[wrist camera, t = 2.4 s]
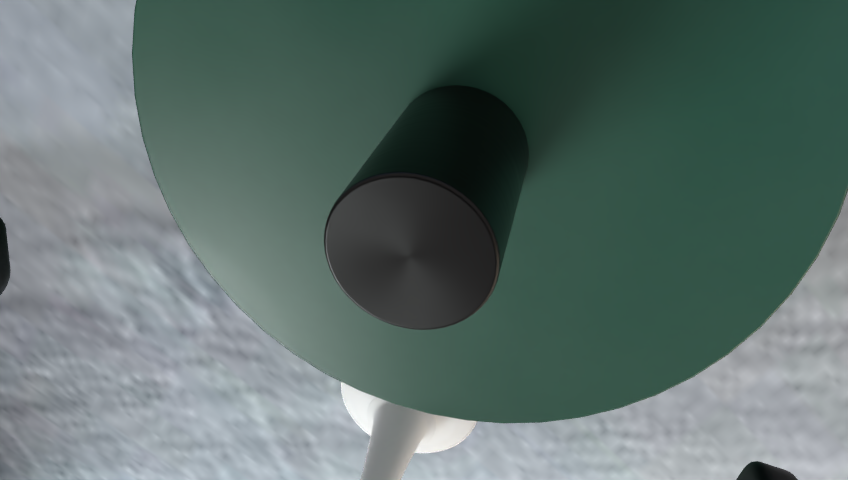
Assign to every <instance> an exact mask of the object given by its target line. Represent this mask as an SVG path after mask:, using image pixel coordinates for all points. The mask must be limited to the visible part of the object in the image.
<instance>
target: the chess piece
mask: <svg viewBox="0 0 848 480" xmlns="http://www.w3.org/2000/svg"><path fill="white" fill-rule="evenodd" d="M341 392H342V397H343V401H344V404H345V406H346V408H347V410H348V412H349V414H350V415H351V417H352V418H353V420H354V421H355V422H356V423H357V424H358V425H359V426H360V427H361V428H362V429H363V430H364V431H365V432H366V433H367V434H369V435H370V436H371V437H370V441H369V445H368V450H367V454H366V459H365V463H364V467H363V471H362V475H361V478H360V480H401V478H402V476H403V474H404V472H405V470H406V468H407V466H408V464H409V462H410V460H411V458H412V456H413V454H414V453H433V452H439V451H443V450H446V449H449V448H451V447H454V446H456V445H457V444H459V443H460V442H462V441H463V440H464V439H465V438H466V437H467V436H468V435H469V434H470V433H471V432H472V430H473V429H474V427H475V425H476V422H477V421H468V420H462V419H456V418H450V417H445V416H439V415H433V414H428V413H425V412H421V411H418V410H414V409H410V408H407V407H403V406H400V405H396V404H393V403H390V402H388V401H385V400H382V399H380V398H377V397H375V396H372V395H369V394H367V393H364V392H362V391H359V390H357V389H355V388H353V387H351V386H349V385H347V384H345V383H343V382H341Z"/></svg>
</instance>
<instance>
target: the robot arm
mask: <svg viewBox="0 0 848 480" xmlns="http://www.w3.org/2000/svg"><path fill="white" fill-rule="evenodd" d="M9 278H10V261H9V252H8V243H7V234H6V227H5V224H4V222H3V220H2V219H1V218H0V295H1V294H2V292H3V291H4V290H5V288H6V286H7V284H8V281H9ZM736 480H798V479H797V478H796V477H795V476H794V475H793V474H792V473H790V472H788V471H786V470H784V469H780V468H777V467H774V466H771V465H768V464H765V463H762V462H758V461H756V462H751V463H749V464H748V465H747V466H746V467H745V468H744V469H743V470H742V472H741V473H740V475H739V476H738V478H737V479H736Z"/></svg>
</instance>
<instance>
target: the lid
mask: <svg viewBox="0 0 848 480" xmlns="http://www.w3.org/2000/svg"><path fill="white" fill-rule="evenodd" d="M132 60H133V75H134V91H135V99H136V105H137V110H138V116H139V121H140V126H141V132H142V137H143V140H144V143H145V147H146V150H147V153H148V156H149V160H150V163H151V166H152V169H153V173H154V176H155V178H156V180H157V183H158V185H159V187H160V190H161V192H162V194H163V196H164V199H165V201H166V203H167V206H168V208H169V210H170V212H171V214H172V216H173V218H174V219H175V221H176V223H177V225H178V226H179V228H180V230H181V232H182V234H183V235H184V237H185V239H186V241H187V242H188V244H189V246H190V247H191V249H192V250H193V251H194V253H195V254H196V256H197V257H198V258H199V260H200V261H201V263H202V264H203V265H204V267H205V268H206V270H207V271H208V272H209V274H210V275H211V277H212V278H213V279H214V280H215V281H216V282H217V284H218V285H219V286H220V287H221V288H222V289H223V290H224V292H225V293H226V294H227V295H228V296H229V297H230V298H231V300H232V301H233V302H234V303H235V304H236V305H237V306H238V307H239V308H240V309H241V310H242V311H243V312H244V313H245V314H246V315H247V316H248V317H250V318H251V319H252V320H253V321H254V322H255V323H256V324H257V325H258V326H259V327H260V328H261V329H262V330H263V331H265V332H266V333H267V334H268V335H270V336H271V337H272V338H274V339H275V340H276V341H278V342H279V343H280V344H281V345H283V346H284V347H285V348H287V349H288V350H289V351H291V352H292V353H293V354H295V355H296V356H298V357H299V358H301V359H303V360H304V361H306V362H307V363H309V364H311V365H312V366H314V367H315V368H317V369H319V370H320V371H322V372H323V373H325V374H327V375H329V376H331V377H333V378H335V379H337V380H339V381H341V382H343V383H345V384H347V385H349V386H351V387H353V388H355V389H357V390H359V391H362V392H364V393H367V394H369V395H372V396H375V397H377V398H380V399H382V400H385V401H388V402H390V403H393V404H396V405H400V406H403V407H407V408H410V409H414V410H418V411H421V412H425V413H428V414H433V415H439V416H445V417H450V418H456V419H462V420H468V421H481V422H495V423H535V422H549V421H556V420H564V419H572V418H580V417H584V416H589V415H593V414H597V413H601V412H606V411H610V410H614V409H618V408H621V407H624V406H627V405H630V404H632V403H635V402H638V401H641V400H644V399H647V398H649V397H652V396H655V395H657V394H659V393H661V392H664V391H666V390H668V389H670V388H672V387H674V386H676V385H678V384H680V383H682V382H684V381H686V380H688V379H690V378H692V377H694V376H695V375H697V374H699V373H700V372H702V371H703V370H705V369H706V368H708V367H709V366H711V365H712V364H714V363H716V362H717V361H719V360H720V359H722V358H723V357H725V356H726V355H728V354H729V353H730V352H732V351H733V350H734V349H735V348H736V347H738V346H739V345H740V344H741V343H742V342H744V341H745V340H746V339H747V338H748V337H750V336H751V335H752V334H753V333H754V332H756V331H757V330H758V329H759V328H760V327H761V326H762V325H763V324H764V323H765V322H766V321H767V320H768V319H769V318H770V317H771V316H772V315H773V313H774V312H775V311H776V310H777V309H778V308H779V307H780V306H781V305H782V304H783V303H784V302H785V301H786V299H787V298H788V297H789V296H790V295H791V294H792V293H793V291H794V290H795V288H796V287H797V285H798V284H799V283H800V281H801V280H802V278H803V277H804V275H805V274H806V273H807V271H808V270H809V268H810V267H811V266H812V264H813V263H814V261H815V260H816V258H817V257H818V255H819V253H820V251H821V249H822V247H823V245H824V243H825V241H826V240H827V238H828V236H829V234H830V232H831V230H832V228H833V226H834V224H835V222H836V220H837V218H838V216H839V214H840V211H841V208H842V206H843V203H844V200H845V197H846V194H847V191H848V0H137V1H136V6H135V14H134V30H133V47H132Z"/></svg>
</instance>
